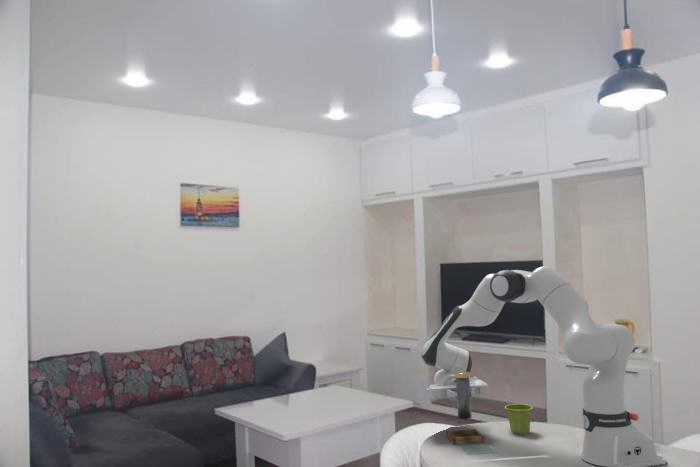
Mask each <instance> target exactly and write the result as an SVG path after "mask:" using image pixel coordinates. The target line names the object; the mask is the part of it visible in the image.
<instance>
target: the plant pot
mask: <svg viewBox="0 0 700 467" xmlns="http://www.w3.org/2000/svg"><path fill="white" fill-rule="evenodd" d="M504 409H505V411H506V413H507V417H508V421H509V422H508V423H509V427H510V428H509V429H510V432H512V433H515V434H522V435H528V434H530V432H531V431H530V430H531V418H532V417H531V416H532V413H533V412H532V411H533V409H534V408H533V405H530V404H524V403H513V404H512V403H511V404H507V405H505V406H504Z"/></svg>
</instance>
